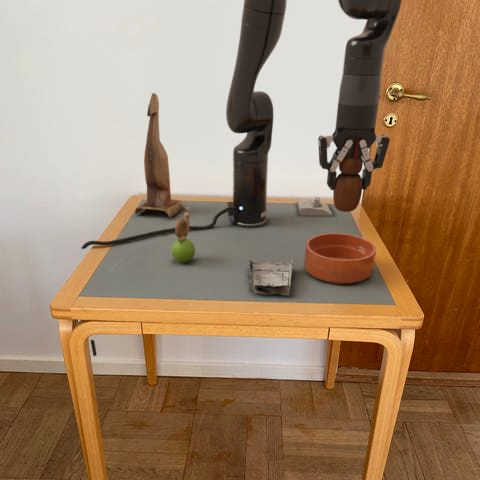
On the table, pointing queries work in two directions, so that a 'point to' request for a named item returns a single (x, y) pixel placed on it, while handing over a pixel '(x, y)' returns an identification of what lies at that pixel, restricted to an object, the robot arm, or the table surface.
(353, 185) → the wooden figurine
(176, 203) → the bird sculpture
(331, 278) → the bowl
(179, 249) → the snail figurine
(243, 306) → the table surface
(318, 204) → the grey stone carving
